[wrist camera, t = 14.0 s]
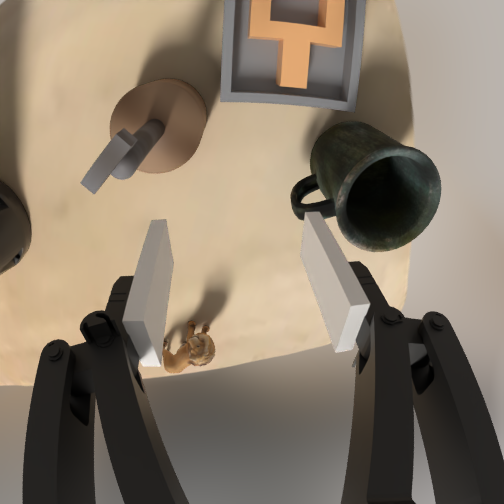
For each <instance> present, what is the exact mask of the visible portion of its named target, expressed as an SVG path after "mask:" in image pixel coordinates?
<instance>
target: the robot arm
mask: <svg viewBox="0 0 504 504" xmlns="http://www.w3.org/2000/svg"><path fill="white" fill-rule="evenodd" d="M30 242H31V229H30V223H29V220H28V217H27V214H26V211H25V209H24V207H23V205H22V203H21V202H20V200H19V199H18V197H17V196H16V195H15V193H14V192H13V191H12V190H11V189H10V188H9V187H8V186H6V185H5V184H4V183H2V182H1V181H0V275H1V274H3V273H4V272H6V271H7V270H9V269H10V268H12V267H14V266H15V265H17V264H18V263H19V262H20V261H21V259H22V258H23V257H24V255H25V254H26V252H27V251H28V249H29V246H30ZM300 257H301V259H302V262H303V264H304V267H305V270H306V272H307V275H308V278H309V281H310V283H311V286H312V289H313V291H314V294H315V297H316V300H317V302H318V305H319V308H320V311H321V313H322V316H323V319H324V322H325V325H326V328H327V330H328V333H329V336H330V339H331V342H332V345H333V348H334V351H335V352H343V351H348V350H352V349H353V347H354V344H355V342H356V343H357V345H358V348H359V351H358V353H357V355H356V357H355V360H354V362H353V365H352V367H355V365H356V379H355V395H354V408H353V419H352V429H351V439H350V447H349V455H348V462H347V470H346V476H345V483H344V490H343V495H342V500H341V504H416V503H415V502H414V501H413V500H412V495H411V494H412V479H413V458H414V412H413V405H414V409H415V412H416V415H417V419H418V423H419V427H420V431H421V435H422V439H423V442H424V447H425V451H426V456H427V460H428V464H429V469H430V474H431V479H432V484H433V489H434V495H435V501H436V504H504V460H503V456H502V453H501V449H500V446H499V442H498V439H497V436H496V433H495V429H494V426H493V423H492V421H491V417H490V414H489V412H488V409H487V406H486V403H485V401H484V398H483V395H482V393H481V391H480V388H479V386H478V383H477V380H476V378H475V376H474V373H473V371H472V369H471V366H470V364H469V362H468V359H467V357H466V355H465V353H464V351H463V348H462V346H461V345H460V342H459V340H458V338H457V336H456V334H455V332H454V330H453V328H452V326H451V324H450V322H449V320H448V319H447V318H446V317H445V316H444V315H443V314H440V313H438V312H428V313H426V314H425V315H424V317H423V318H422V320H419V319H411V318H405V317H404V315H403V314H402V313H401V312H400V311H399V310H398V309H396V308H394V307H390V306H389V305H388V303H387V301H386V299H385V297H384V296H383V294H382V292H381V290H380V289H379V287H378V285H377V284H376V282H375V280H374V278H373V277H372V275H371V273H370V272H369V270H368V268H367V267H366V266H364V265H363V264H362V263H361V262H360V261H355V262H348V261H347V259H346V257H345V255H344V254H343V252H342V250H341V248H340V246H339V245H338V243H337V241H336V239H335V238H334V236H333V234H332V232H331V231H330V229H329V227H328V226H327V224H326V222H325V220H324V219H323V217H322V215H321V214H320V212H305V218H304V227H303V236H302V245H301V253H300ZM173 265H174V262H173V256H172V250H171V245H170V239H169V233H168V227H167V221H166V219H163V220H152V221H151V224H150V227H149V230H148V233H147V236H146V239H145V242H144V245H143V248H142V251H141V255H140V258H139V261H138V265H137V268H136V271H135V275H134V276H120V278H119V279H118V280H117V281H116V282H115V283H114V285H113V288H112V291H111V295H110V297H109V300H108V303H107V306H106V309H105V311H102V310H101V311H95V312H92V313H90V314H88V315H87V316H86V317H85V318H84V319H83V321H82V322H81V324H80V331H81V333H82V334H83V336H84V338H85V340H86V341H87V342H84V343H81V344H77V345H74V346H69V345H68V343H67V342H65V341H64V340H59V339H58V340H53V341H51V342H50V343H48V344H47V345H46V346H45V347H44V348H43V350H42V353H41V356H40V360H39V364H38V369H37V373H36V378H35V383H34V388H33V393H32V399H31V404H30V411H29V417H28V424H27V432H26V442H25V452H24V465H23V504H96V502H95V485H94V418H95V400H97V405H98V410H99V414H100V419H101V424H102V429H103V433H104V437H105V441H106V444H107V449H108V452H109V456H110V460H111V463H112V466H113V470H114V473H115V476H116V480H117V483H118V486H119V489H120V492H121V494H122V497H123V500H124V503H125V504H189V502H188V500H187V498H186V496H185V494H184V491H183V489H182V487H181V485H180V483H179V480H178V478H177V476H176V473H175V471H174V469H173V466H172V464H171V462H170V459H169V456H168V454H167V451H166V449H165V446H164V443H163V441H162V438H161V435H160V433H159V430H158V427H157V424H156V421H155V419H154V416H153V413H152V410H151V407H150V404H149V401H148V397H147V394H146V391H145V388H144V384H143V381H142V377H141V374H140V372H139V370H138V364H139V360H140V362H141V364H142V366H161V361H162V351H163V341H164V332H165V324H166V315H167V307H168V300H169V292H170V285H171V278H172V272H173Z"/></svg>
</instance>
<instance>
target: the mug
mask: <svg viewBox="0 0 504 504" xmlns="http://www.w3.org/2000/svg"><path fill="white" fill-rule="evenodd" d="M310 169H311V174H312V175H310V176H308V177H306V178H304V179H302V180H301V181H299V182H298V183H297V184H296V185H295V186H294V187H293V189H292V192H291V205H292V209H293V212H294V214H295V215H296V216H297V217H298V219H300V220H304V218H305V212H320V214H321V215H322V217H323V219H326V218H330V217H333V216H336V218H337V222H338V226H339V228H340V230H341V232H342V234H343V235H344V237H345V238H346V239H347V240H348V241H349V242H350V243H351V244H353V245H354V246H356V247H358V248H360V249H363V250H366V251H371V252H384V251H390V250H394V249H397V248H399V247H402V246H404V245H406V244H407V243H409V242H411V241H412V240H413V239H415V238H416V237H417V236H418V235H419V234H421V233H422V232H423V230H424V229H425V228H426V227H427V226H428V225H429V223H430V222H431V220H432V218H433V217H434V215H435V213H436V211H437V208H438V205H439V202H440V196H441V180H440V176H439V173H438V170H437V168H436V166H435V165H434V163H433V162H432V160H431V159H430V158H429V157H428V156H427V155H426V154H424V153H423V152H421V151H420V150H418V149H415V148H413V147H409V146H404V145H402V144H400V143H399V142H397V141H396V140H394V139H392V138H391V137H389V136H387V135H386V134H384V133H382V132H380V131H379V130H377V129H375V128H373V127H372V126H370V125H368V124H365V123H362V122H356V121H351V122H344V123H340V124H337V125H335V126H333V127H331V128H330V129H328V130H327V131H326V132H325V133H324V134H323V135H322V136H321V137H320V138H319V139H318V141H317V142H316V144H315V146H314V148H313V150H312V153H311V159H310ZM318 189H320V190H321V192H322V193H323V195H324V196H325V198H326V199H327V200H324V201H320V202H316V203H310V204H303V203H301V201H302V199H303V198H304V197H305V196H306V195H308V194H309V193H311V192H313V191H315V190H318Z"/></svg>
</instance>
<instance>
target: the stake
mask: <svg viewBox="0 0 504 504" xmlns="http://www.w3.org/2000/svg"><path fill="white" fill-rule="evenodd" d="M206 118H207V113H206V106H205V103H204V101H203V99H202V97H201V95H200V94H199V93H198V91H197V90H196V89H195V88H193V87H192V86H191V85H189V84H188V83H186V82H183V81H181V80H177V79H160V80H156V81H153V82H149V83H146V84H143V85H140V86H138V87H136V88H134V89H132V90H130V91H129V92H128V93H127V94H125V95H124V96H123V97H122V98H121V99H120V101H119V102H118V104H117V105H116V107H115V109H114V111H113V113H112V116H111V121H110V137H111V141H110V142H109V144H108V145H107V146H106V148H105V149H104V150H103V152H102V153H101V154H100V156H99V157H98V158H97V160H96V161H95V162H94V164H93V165H92V167H91V168H90V170H89V171H88V172H87V174H86V175H85V177H84V178H83V180H82V181H81V184H82V185H83V186H84V187H86V188H87V189H88V190H89V191H90V192H92V193H93V194H95V193H96V192H97V191H98V189H99V188H100V187H101V186H102V184H103V183H104V182H105V180H106V179H107V178H108V177H109V175H110V174H111V175H112V176H113V177H115V178H117V179H121V180H123V179H128V178H130V177H131V176H132V175H133V174H134V172H135V171H136V170H139V171H142V172H146V173H157V174H158V173H165V172H169V171H172V170H175V169H177V168H179V167H180V166H182V165H183V164H185V163H186V162H187V161H188V160H189V159H190V158H191V157H192V156H193V154H194V153H195V152H196V150H197V148H198V146H199V144H200V141H201V138H202V135H203V131H204V128H205V125H206Z"/></svg>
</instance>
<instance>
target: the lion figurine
mask: <svg viewBox="0 0 504 504" xmlns="http://www.w3.org/2000/svg"><path fill="white" fill-rule="evenodd" d="M195 325H196V323H195V322H194V321H189V322H188V329H189V331H188V335H187V343H182V344H181V346H180V348H179V349H178V351H177V353H176V354H175V355H173V354H172V353H171V352H169V351H168V350H166V349H165V347H166V346H167V342H163V351H162V355H163V361H164V367H165V370H166V371H167V372H169V373H180V372H181V371H183V370H184V369H185V368H186V367H187V366H189V365H191V364H192V365H194V366H202V365H206V364H208V363H210V362H211V361H212V359H213V357H214V356H215V345H214V343H213V340H212V339H211V337H210V336H209V335H207V334H206V332H208V331H209V327H208V326H204V327H203V328H202V332H201V333H197V334H194V330H195Z"/></svg>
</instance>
